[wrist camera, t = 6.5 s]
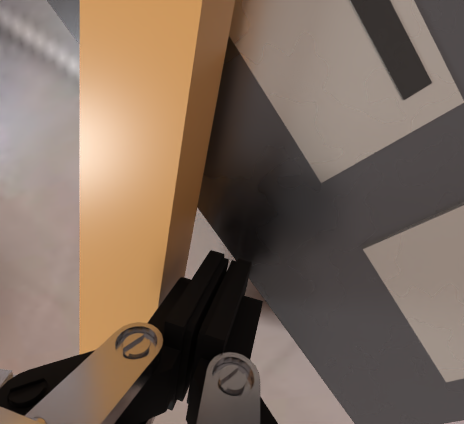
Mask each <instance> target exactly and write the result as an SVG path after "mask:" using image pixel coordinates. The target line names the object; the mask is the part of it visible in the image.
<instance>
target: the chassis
mask: <svg viewBox="0 0 464 424" xmlns="http://www.w3.org/2000/svg"><path fill="white" fill-rule="evenodd" d="M47 1H48V2H49V4H50V5H51V6H52V8H53V9H54V10H55V12H56V13H57V15H58V16H59V17H60V19H61V20H62V21H63V23H64V24H65V26H66V27H67V28H68V30H69V31H70V32H71V34H72V35H73V37H74V38H75V39H76V41H77V42H78V43H79V45H80V0H47ZM197 207H198V209H199V210H200V211H201V213H202V214H203V216H204V217H205V218H206V220H207V221H208V222H209V224H210V225H211V227H212V228H213V229H214V231H215V232H216V233H217V235H218V236H219V238H220V239H221V240H222V242H223V243H224V244H225V246H226V247H227V249H228V250H229V251H230V253H231V254H232V255H233V257H234V258H235V260H236V261H237V260H238V258H240V259H244V260H247V261H251V262H252V265H251V270H250V274H249V279H250V280H251V282H252V283H253V284H254V286H255V287H256V288H257V290H258V291H259V293H260V294H261V295H262V297H263V298H264V299H265V301H266V302H267V304H268V305H269V306H270V308H271V309H272V310H273V312H274V313H275V315H276V316H277V317H278V319H279V320H280V322H281V323H282V324H283V326H284V327H285V328H286V330H287V331H288V333H289V334H290V335H291V337H292V338H293V339H294V341H295V342H296V344H297V345H298V346H299V348H300V349H301V350H302V352H303V353H304V355H305V356H306V357H307V359H308V360H309V361H310V363H311V364H312V366H313V367H314V368H315V370H316V371H317V372H318V374H319V375H320V377H321V378H322V379H323V381H324V382H325V383H326V385H327V386H328V388H329V389H330V390H331V392H332V393H333V394H334V396H335V397H336V399H337V400H338V401H339V403H340V404H341V405H342V407H343V408H344V410H345V411H346V412H347V414H348V415H349V416H350V418H351V419H352V421H353V422H354V423H355V424H444V423H450V422H455V421H461V420H464V0H235V4H234V10H233V15H232V20H231V26H230V31H229V37H228V42H227V48H226V53H225V59H224V64H223V69H222V75H221V80H220V86H219V91H218V97H217V102H216V107H215V113H214V118H213V124H212V129H211V135H210V140H209V146H208V151H207V156H206V162H205V167H204V173H203V178H202V184H201V189H200V195H199V200H198V205H197Z"/></svg>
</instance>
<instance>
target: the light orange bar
mask: <svg viewBox="0 0 464 424" xmlns="http://www.w3.org/2000/svg"><path fill="white" fill-rule="evenodd" d="M234 4H235V0H80V354H84V353H87V352H90V351H94V350H96V349H97V348H98V347H100V346H101V345H102V344H103V343H104V342H105V341H106V340H107V339H108V338H109V337H110V336H111V335H113V334H114V333H115V332H116V331H117V330H119V329H120V328H121V327H123V326H125V325H128V324H130V323H137V322H142V323H148V321H149V320H150V318H151V317H152V316H153V314H154V313H155V311H156V310H157V309H158V307H159V306H160V304H161V303H162V302H163V300H164V299H165V298H166V296H167V295H168V293H169V292H170V291H171V289H172V288H173V286H174V285H175V284H176V282H177V281H178V280H179V278H181V277H184V276H185V271H186V265H187V260H188V254H189V249H190V244H191V238H192V233H193V227H194V222H195V216H196V211H197V205H198V200H199V195H200V189H201V184H202V178H203V173H204V167H205V162H206V156H207V151H208V146H209V140H210V135H211V129H212V124H213V118H214V113H215V107H216V102H217V97H218V91H219V86H220V80H221V75H222V69H223V64H224V59H225V53H226V48H227V42H228V37H229V31H230V26H231V20H232V15H233V10H234Z"/></svg>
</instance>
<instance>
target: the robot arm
mask: <svg viewBox="0 0 464 424" xmlns="http://www.w3.org/2000/svg"><path fill="white" fill-rule="evenodd" d="M228 261H229V259H226V258H224V254H222V253H219V252H215V251H212V250H211V251H210V252H209V253H208V255H207V257H206V258H205V260H204V261H203V263H202V264H201V266H200V267H199V269H198V271H197V272H196V274H195V275H194V277H193V278H192V280H190V279H187V278H184V277H181V278H179V280H178V281H177V282H176V284H175V285H174V286H173V288H172V289H171V291H170V292H169V293H168V295H167V296H166V298H165V299H164V300H163V302H162V303H161V304H160V306H159V307H158V309H157V310H156V311H155V313H154V314H153V316H152V317H151V318H150V320H149V321H148V323H142V322H137V323H130V324H128V325H125V326H123V327H121V328H120V329H119V330H117V331H116V332H115V333H114V334H113V335H111V336H110V337H109V338H108V339H107V340H106V341H105V342H104V343H103V344H102V345H101V346H100V347H98V348H97V349H96V350H94V351H90V352H87V353H84V354H80V355H77V356H74V357H70V358H67V359H63V360H60V361H57V362H53V363H50V364H47V365H43V366H40V367H37V368H33V369H30V370H27V371H25V372H22V373H20V374H18V375H13V373H12V370H3V369H0V424H152V423H153V421H154V419H155V416H157V415H160V414H162V413H164V412H166V411H167V409H170V410H173V408H174V405H175V403H176V401H177V400H180V401H183V399H184V397H185V395H186V393H187V390H188V388H189V392H188V398H187V403H188V410H187V416H186V420H187V423H188V424H278V423H277V421H276V420H275V418H274V417H273V415H272V414H271V412H270V411H269V409H268V408H267V406H266V405H265V403H264V401H263V400H262V398H261V397H260V377H259V372H258V370H257V368H256V366H255V365H254V364H253V363H252V362H251V360H250V358H251V353H252V348H253V344H254V339H255V335H256V330H257V326H258V321H259V317H260V312H261V308H262V303H263V301H260V300H257V299H253V298H250V297H247V296H244V295H245V291H246V287H247V282H248V278H249V274H250V270H251V265H252V262H251V261H247V260H244V259H240V258H238V260H237V261H233V260H232V261H231V264H230V266H229V268H228V270H227V267H228ZM189 385H190V386H189Z"/></svg>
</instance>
